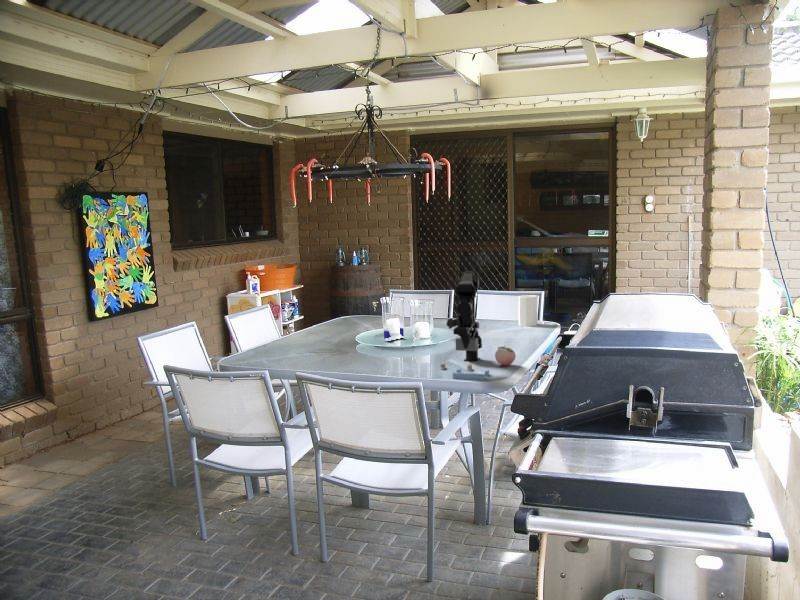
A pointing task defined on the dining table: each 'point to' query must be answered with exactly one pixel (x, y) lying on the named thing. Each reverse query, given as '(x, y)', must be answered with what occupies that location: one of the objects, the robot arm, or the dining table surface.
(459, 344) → the tall grey block
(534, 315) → the cup
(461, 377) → the separate blue rectangular blocks
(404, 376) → the dining table surface
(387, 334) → the cable clip
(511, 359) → the decorative fruit
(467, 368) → the tan wooden block
